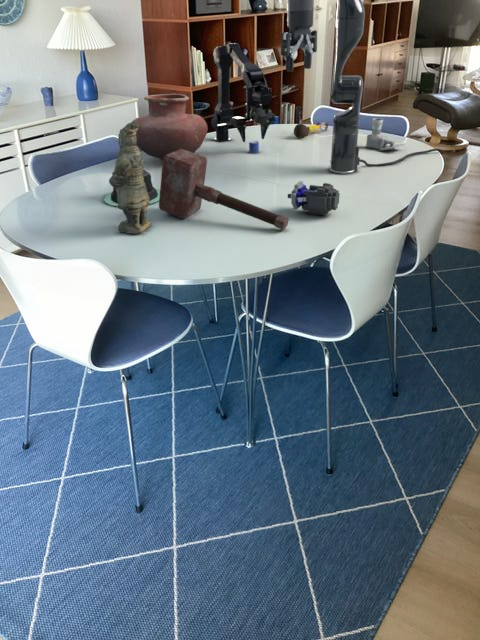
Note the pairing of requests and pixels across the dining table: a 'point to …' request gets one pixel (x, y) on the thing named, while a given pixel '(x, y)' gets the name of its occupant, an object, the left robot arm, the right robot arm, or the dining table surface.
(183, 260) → the dining table surface
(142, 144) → the clay pot
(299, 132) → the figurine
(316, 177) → the dining table surface
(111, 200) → the chocolate cake
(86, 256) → the dining table surface
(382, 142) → the grey boot
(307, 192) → the toy
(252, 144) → the canister
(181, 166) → the sledgehammer
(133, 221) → the statue
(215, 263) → the dining table surface
